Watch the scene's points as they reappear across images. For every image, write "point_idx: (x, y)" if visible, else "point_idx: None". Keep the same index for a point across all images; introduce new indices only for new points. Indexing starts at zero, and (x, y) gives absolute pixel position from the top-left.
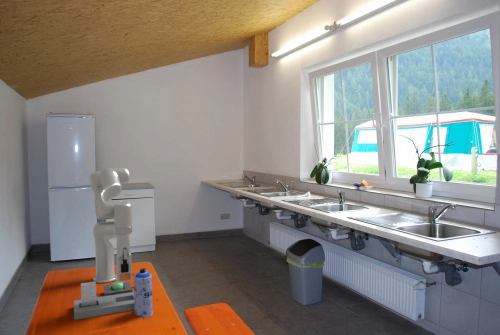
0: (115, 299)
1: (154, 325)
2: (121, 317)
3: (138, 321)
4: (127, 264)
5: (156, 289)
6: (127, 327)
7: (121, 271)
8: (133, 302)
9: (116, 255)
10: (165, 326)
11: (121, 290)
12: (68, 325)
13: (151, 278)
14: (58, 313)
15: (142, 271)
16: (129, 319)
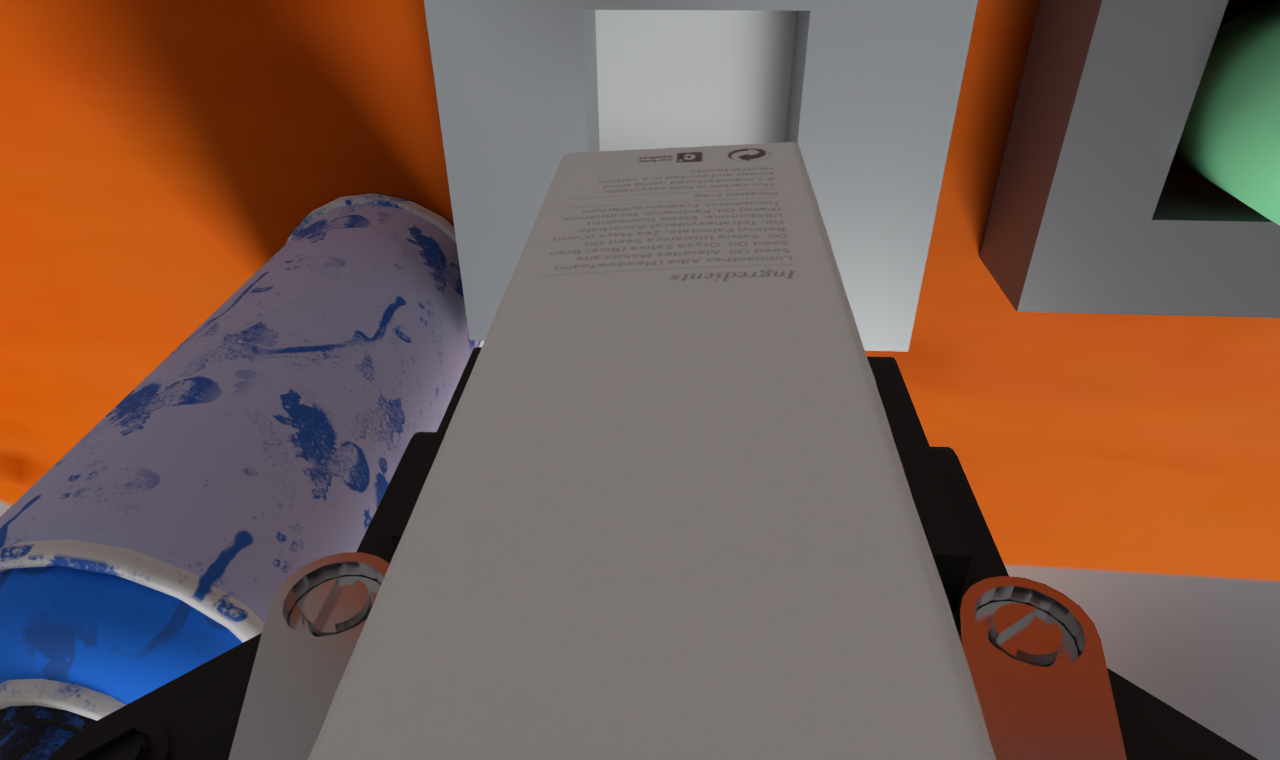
0: (724, 8)
1: (82, 341)
2: (361, 33)
3: (201, 214)
4: None
5: (1077, 535)
6: (45, 71)
7: (465, 370)
8: (485, 254)
9: (884, 738)
10: (54, 419)
11: (1108, 155)
12: None
13: None
14: None
15: None
16: (276, 125)
